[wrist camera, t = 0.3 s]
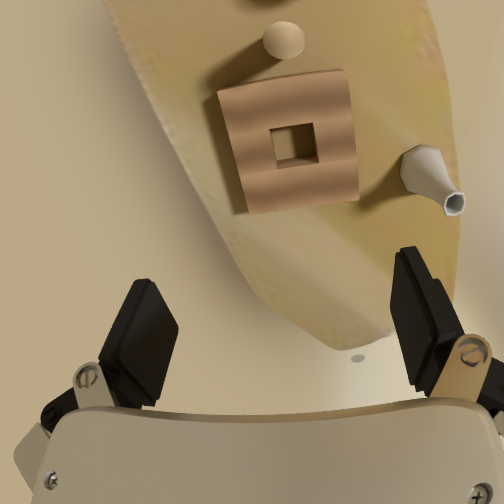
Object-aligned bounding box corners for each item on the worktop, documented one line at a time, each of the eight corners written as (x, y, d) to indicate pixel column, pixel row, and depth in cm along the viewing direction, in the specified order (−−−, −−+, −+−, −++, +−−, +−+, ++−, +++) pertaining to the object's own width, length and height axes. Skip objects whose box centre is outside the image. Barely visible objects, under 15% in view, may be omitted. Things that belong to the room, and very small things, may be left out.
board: (221, 88, 32) (216, 91, 30) (340, 68, 30) (345, 70, 27) (251, 203, 42) (249, 215, 39) (354, 189, 39) (359, 199, 36)
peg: (262, 31, 28) (257, 24, 21) (295, 26, 27) (300, 18, 20) (269, 60, 30) (267, 63, 23) (301, 55, 29) (309, 56, 22)
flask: (442, 140, 33) (481, 170, 25) (444, 187, 37) (477, 225, 29) (395, 148, 35) (426, 180, 27) (400, 196, 39) (427, 237, 31)
